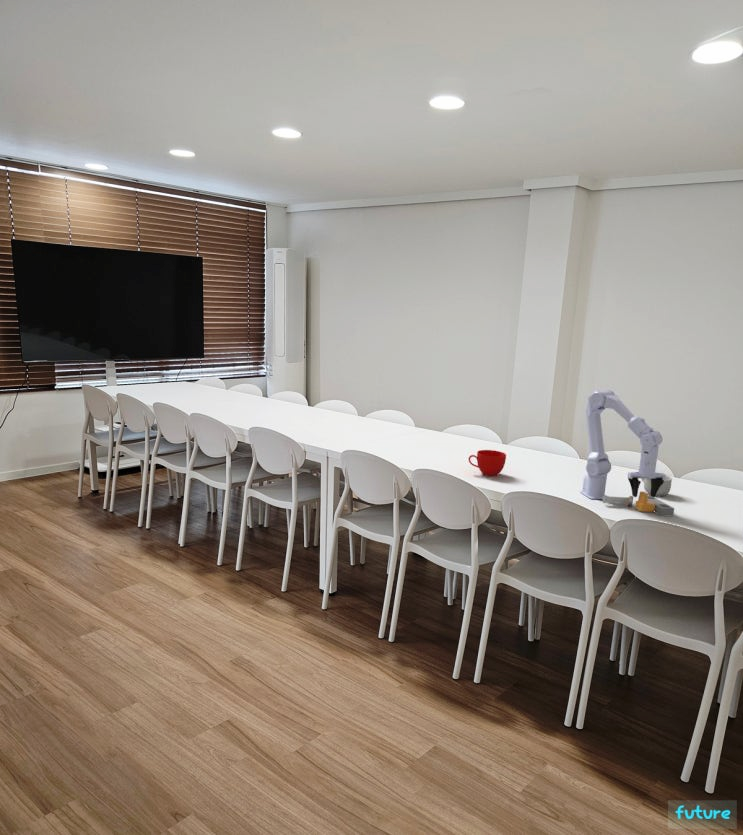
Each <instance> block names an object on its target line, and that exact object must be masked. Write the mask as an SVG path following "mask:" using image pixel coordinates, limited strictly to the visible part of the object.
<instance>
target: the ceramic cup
mask: <svg viewBox="0 0 743 835" xmlns="http://www.w3.org/2000/svg"><path fill="white" fill-rule="evenodd" d="M472 458H475V460H476V461H477V462H476V463H477V464H474V463H473V462H472V461H471V459H472ZM506 460H507V454H506V452H502V451H499V450H492V449H481V450H478V451H477V452H476V455H475V454H470V455H469V456H468V462H469V464H470V465H472V466H473V467H475V468H478V469H479V471H480V472H481V474H482V475H484V476H485V475H487V476H486V477H491V476H494V477H497V476H499V474H500V473H502V471H503V469H504V468H505V464H506Z"/></svg>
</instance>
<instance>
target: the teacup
mask: <svg viewBox="0 0 743 835" xmlns="http://www.w3.org/2000/svg"><path fill="white" fill-rule="evenodd" d="M640 479H641V482H643V490H644V491H645V492H646V493H647V494H648V495H650V492H651V479H649V478H640ZM662 480H664V483H663V484H662V485H661V486H660V488H659V489H658V491H657V493H656V496H655V497H664V496H666V495H668V494H669V493H670V491H671V488H672V480H673V477H671V476H669V475H667V474H665V479H662Z"/></svg>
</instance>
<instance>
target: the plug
mask: <svg viewBox="0 0 743 835" xmlns="http://www.w3.org/2000/svg"><path fill="white" fill-rule="evenodd" d="M648 495H649V493H648V492H646V491H639V494H638V498H639V501H638V500H635V510H637V511H639V512H641V513H643V512H644V513H645V512H646V513H647V512H649V513H655V512H654V511H655V504H654V503H652V502H650V501H647V498H648Z"/></svg>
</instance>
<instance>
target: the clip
mask: <svg viewBox="0 0 743 835" xmlns="http://www.w3.org/2000/svg"><path fill="white" fill-rule="evenodd" d="M602 503H604V504H623V505H624V504H625V505H627V506H628V507H630V508H632V507H633V505H634V504H633V503H634V496H632V495H629V496H628V497H627V496H626V497H624V496H608V495H607V496H606V495H604V496H603V499H602Z"/></svg>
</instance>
